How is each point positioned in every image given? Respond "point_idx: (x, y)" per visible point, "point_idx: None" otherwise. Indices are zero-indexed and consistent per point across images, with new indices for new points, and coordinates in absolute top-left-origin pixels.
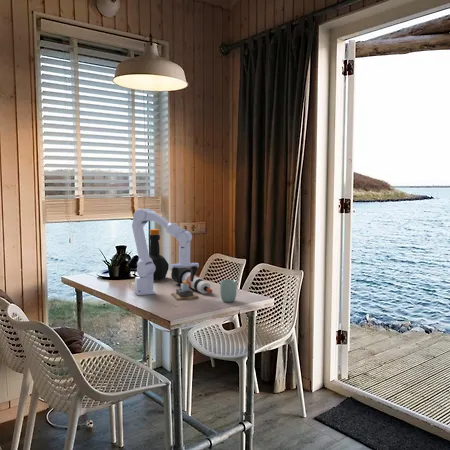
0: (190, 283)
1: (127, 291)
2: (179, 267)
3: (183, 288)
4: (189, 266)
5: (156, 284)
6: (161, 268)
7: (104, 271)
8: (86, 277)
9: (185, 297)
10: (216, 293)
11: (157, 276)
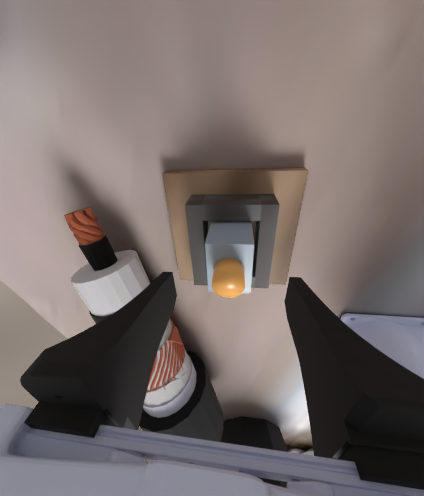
0: (170, 335)
1: None
2: (310, 466)
3: (248, 231)
4: (134, 449)
5: (270, 396)
6: None
7: None
8: None
9: (247, 171)
10: (67, 236)
11: (251, 433)
